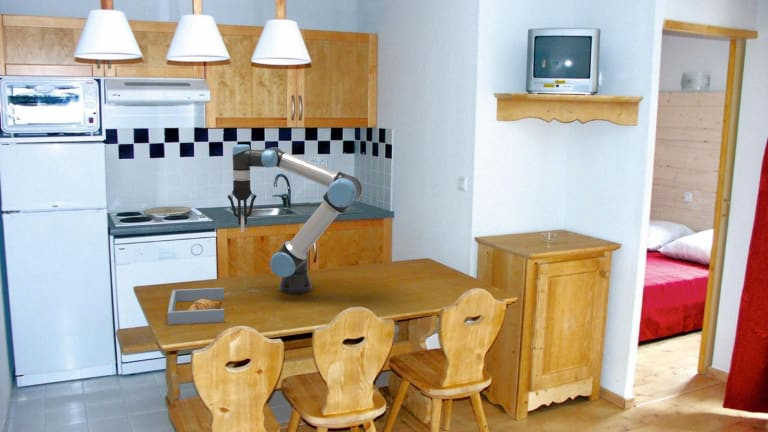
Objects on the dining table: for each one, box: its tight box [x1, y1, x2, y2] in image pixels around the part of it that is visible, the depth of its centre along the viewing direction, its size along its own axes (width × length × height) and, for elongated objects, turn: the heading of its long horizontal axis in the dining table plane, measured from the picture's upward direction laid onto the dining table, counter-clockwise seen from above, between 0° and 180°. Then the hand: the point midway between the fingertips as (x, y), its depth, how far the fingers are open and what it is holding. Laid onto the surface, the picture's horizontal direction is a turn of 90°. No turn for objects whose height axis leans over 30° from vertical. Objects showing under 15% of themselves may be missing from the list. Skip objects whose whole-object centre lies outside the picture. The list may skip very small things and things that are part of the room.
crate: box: [167, 287, 226, 326], centre depth 296 cm, size 22×33×5 cm, turn 13°
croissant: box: [185, 299, 222, 311], centre depth 292 cm, size 21×10×8 cm, turn 149°
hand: (242, 231), depth 316 cm, fingers closed
